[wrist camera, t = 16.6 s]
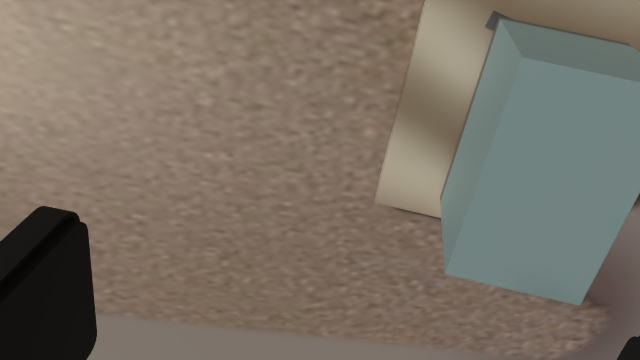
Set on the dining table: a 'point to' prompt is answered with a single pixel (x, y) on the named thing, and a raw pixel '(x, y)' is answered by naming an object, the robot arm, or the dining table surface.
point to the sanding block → (544, 162)
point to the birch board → (468, 82)
